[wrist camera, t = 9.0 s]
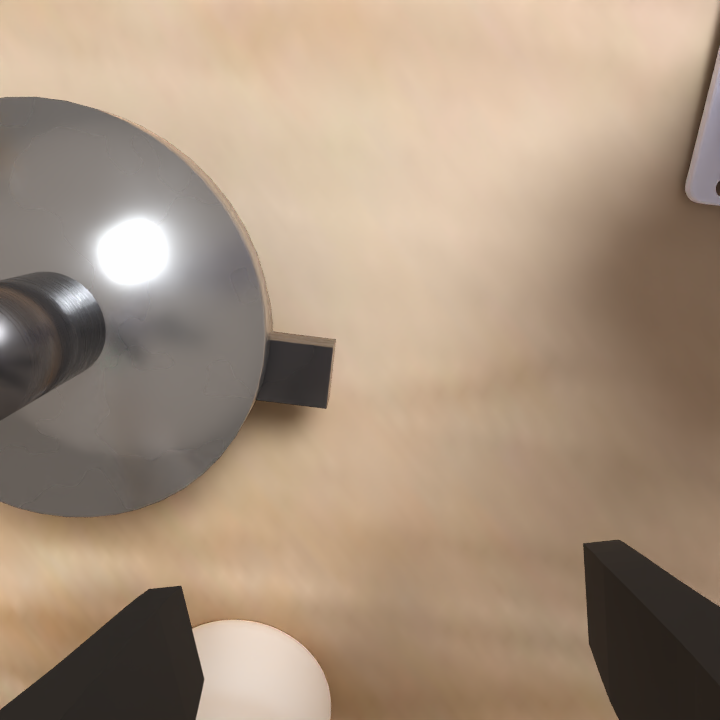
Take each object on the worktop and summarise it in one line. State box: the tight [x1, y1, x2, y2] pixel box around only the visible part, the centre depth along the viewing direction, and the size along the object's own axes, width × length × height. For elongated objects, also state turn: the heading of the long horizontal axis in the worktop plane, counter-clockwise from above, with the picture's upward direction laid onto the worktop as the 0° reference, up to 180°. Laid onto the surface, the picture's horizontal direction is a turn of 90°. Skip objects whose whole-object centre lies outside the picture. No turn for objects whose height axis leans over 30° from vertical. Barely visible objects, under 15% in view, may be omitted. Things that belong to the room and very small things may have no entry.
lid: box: [0, 97, 271, 517], centre depth 15 cm, size 11×11×5 cm
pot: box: [256, 292, 336, 409], centre depth 19 cm, size 14×10×4 cm
